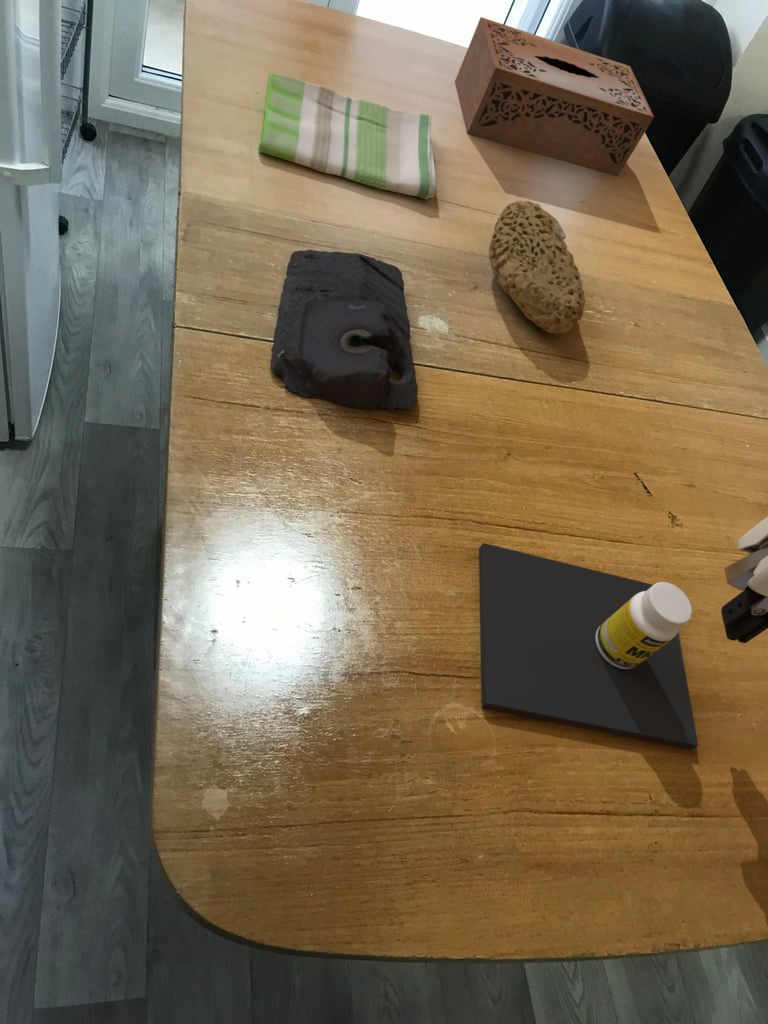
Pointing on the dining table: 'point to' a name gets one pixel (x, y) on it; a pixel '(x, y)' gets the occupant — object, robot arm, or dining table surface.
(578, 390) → the dining table surface
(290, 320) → the dark slate chunk
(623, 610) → the supplement bottle
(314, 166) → the dish towel
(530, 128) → the tissue box cover
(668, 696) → the mat
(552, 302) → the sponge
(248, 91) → the dining table surface
